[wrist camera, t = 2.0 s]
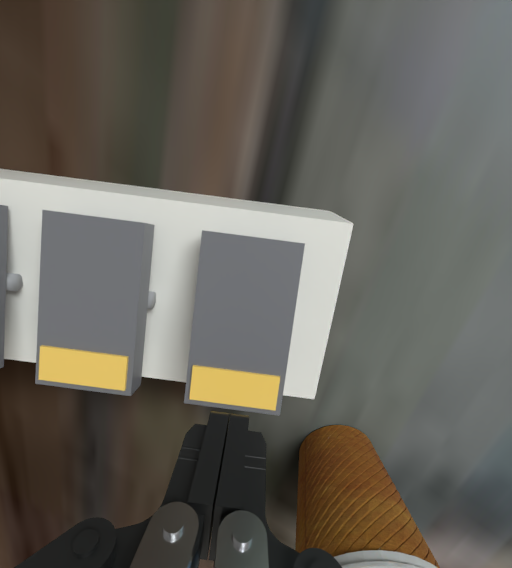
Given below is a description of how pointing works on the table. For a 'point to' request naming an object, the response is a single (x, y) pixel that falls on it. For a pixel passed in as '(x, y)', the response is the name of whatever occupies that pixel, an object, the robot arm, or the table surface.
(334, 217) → the console
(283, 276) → the rocker
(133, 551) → the robot arm
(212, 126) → the table surface
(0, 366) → the rocker
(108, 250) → the block
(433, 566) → the disposable coffee cup
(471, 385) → the table surface
